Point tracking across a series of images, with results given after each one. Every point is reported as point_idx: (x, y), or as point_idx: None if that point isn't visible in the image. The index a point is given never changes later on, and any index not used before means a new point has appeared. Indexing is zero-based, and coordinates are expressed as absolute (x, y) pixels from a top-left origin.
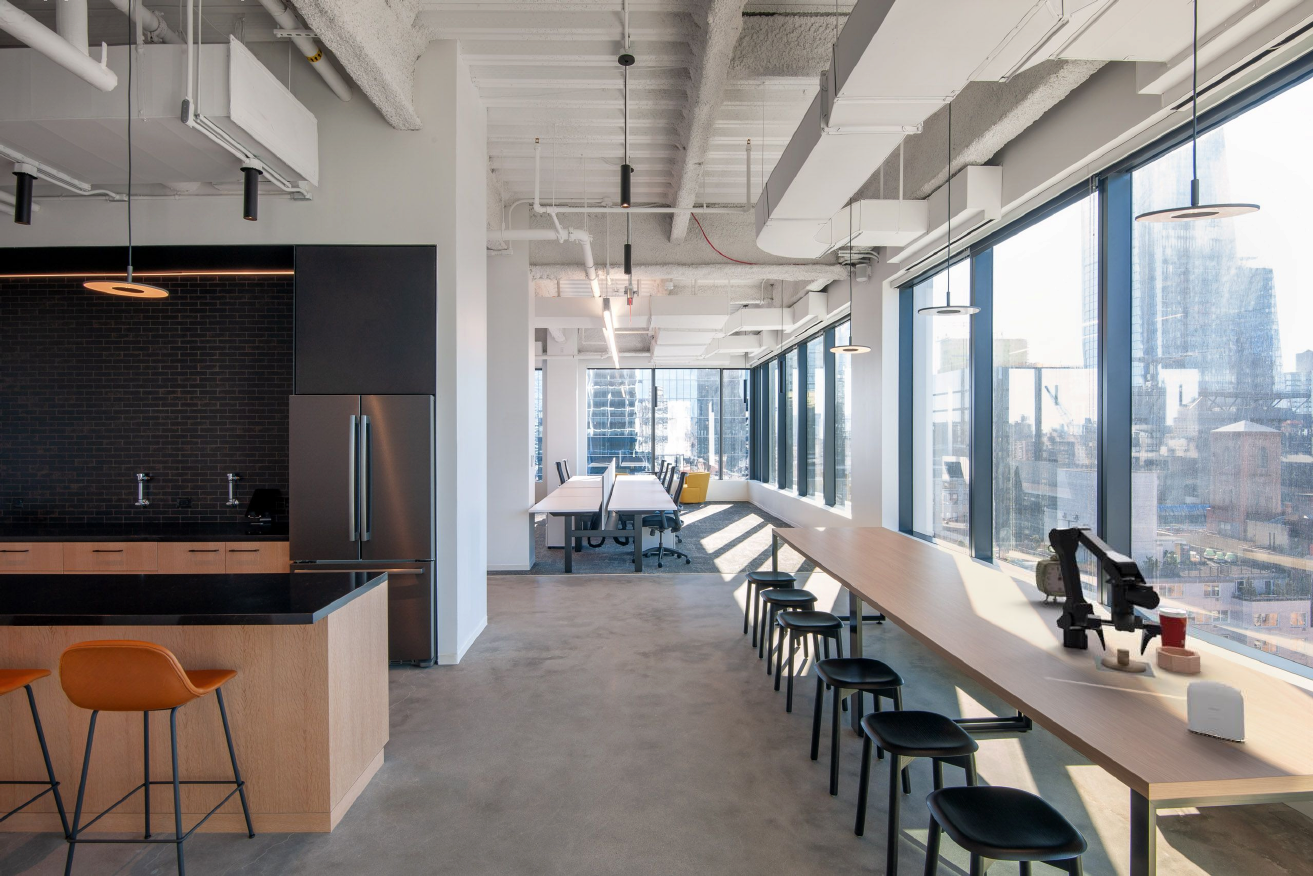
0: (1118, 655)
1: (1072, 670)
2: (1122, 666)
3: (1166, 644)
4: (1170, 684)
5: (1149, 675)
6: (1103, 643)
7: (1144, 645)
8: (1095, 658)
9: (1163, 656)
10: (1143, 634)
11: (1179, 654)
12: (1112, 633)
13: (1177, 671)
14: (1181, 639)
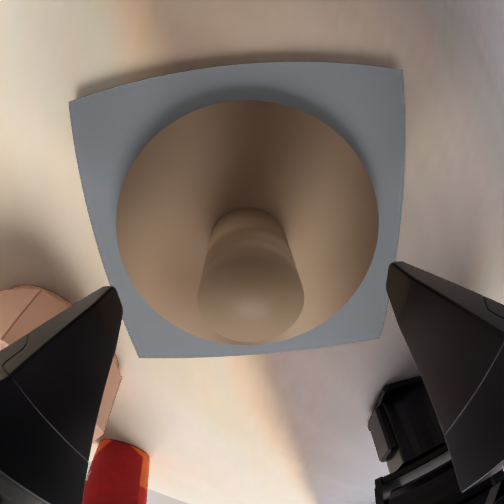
0: (287, 247)
1: (485, 52)
2: (253, 157)
3: (126, 473)
4: (24, 74)
5: (95, 116)
6: (443, 287)
7: (38, 334)
8: (385, 297)
9: None
10: (11, 453)
11: None
12: (272, 498)
13: (27, 290)
14: (86, 482)
